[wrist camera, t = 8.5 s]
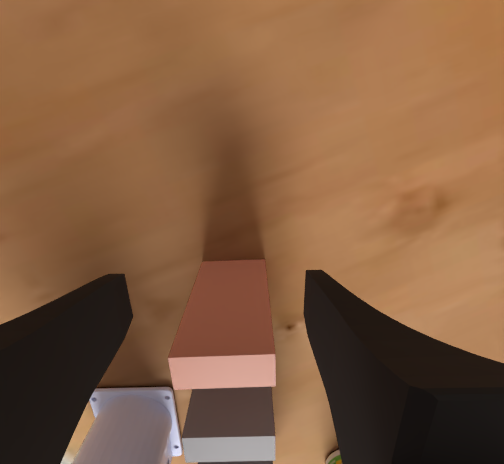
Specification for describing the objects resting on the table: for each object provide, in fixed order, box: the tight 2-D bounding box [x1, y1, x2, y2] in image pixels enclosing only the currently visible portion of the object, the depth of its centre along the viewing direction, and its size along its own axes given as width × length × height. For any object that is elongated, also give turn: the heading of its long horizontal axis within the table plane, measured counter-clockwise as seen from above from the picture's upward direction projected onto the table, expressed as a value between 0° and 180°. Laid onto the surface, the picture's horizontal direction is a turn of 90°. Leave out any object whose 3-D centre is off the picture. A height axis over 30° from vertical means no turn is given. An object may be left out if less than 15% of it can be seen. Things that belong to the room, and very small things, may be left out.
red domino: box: [168, 259, 276, 390], centre depth 18 cm, size 2×5×10 cm, turn 92°
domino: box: [182, 386, 275, 463], centre depth 20 cm, size 2×5×10 cm, turn 92°
